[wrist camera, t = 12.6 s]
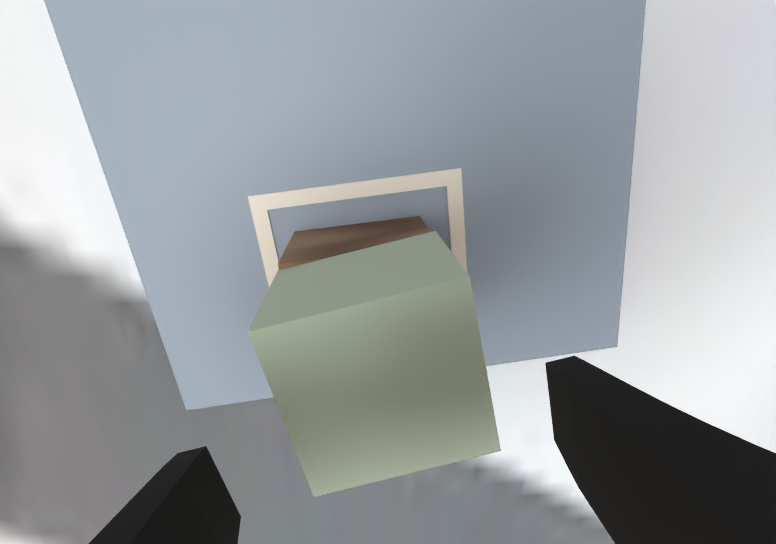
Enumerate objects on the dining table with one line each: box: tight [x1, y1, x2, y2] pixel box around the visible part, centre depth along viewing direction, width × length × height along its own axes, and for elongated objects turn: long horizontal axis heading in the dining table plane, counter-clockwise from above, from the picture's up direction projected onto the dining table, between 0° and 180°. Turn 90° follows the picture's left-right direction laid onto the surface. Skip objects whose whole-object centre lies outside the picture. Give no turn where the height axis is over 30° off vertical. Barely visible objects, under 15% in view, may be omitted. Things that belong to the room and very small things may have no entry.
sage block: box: [248, 231, 501, 497], centre depth 12 cm, size 5×5×4 cm
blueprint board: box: [44, 0, 646, 410], centre depth 17 cm, size 20×18×1 cm
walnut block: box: [278, 216, 430, 270], centre depth 16 cm, size 5×5×4 cm
